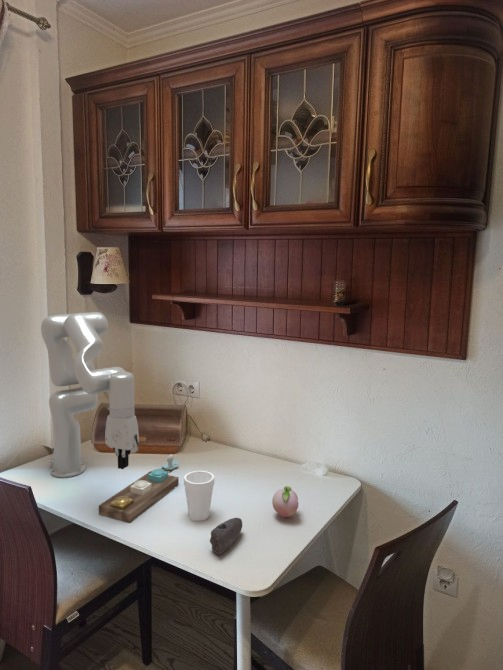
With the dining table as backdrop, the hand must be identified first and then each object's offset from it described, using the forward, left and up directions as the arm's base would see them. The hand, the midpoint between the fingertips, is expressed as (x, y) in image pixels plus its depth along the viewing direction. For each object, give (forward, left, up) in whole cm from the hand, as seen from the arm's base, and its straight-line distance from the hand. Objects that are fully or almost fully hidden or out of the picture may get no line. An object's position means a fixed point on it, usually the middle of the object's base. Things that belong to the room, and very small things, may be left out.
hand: (123, 467), depth 151 cm
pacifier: (-5, +33, -15) cm, 37 cm away
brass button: (0, -1, -14) cm, 14 cm away
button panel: (0, +9, -15) cm, 17 cm away
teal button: (0, +19, -13) cm, 23 cm away
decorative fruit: (+48, +19, -15) cm, 54 cm away
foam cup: (+23, +8, -15) cm, 29 cm away
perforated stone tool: (+38, -2, -15) cm, 41 cm away
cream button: (0, +9, -13) cm, 16 cm away
